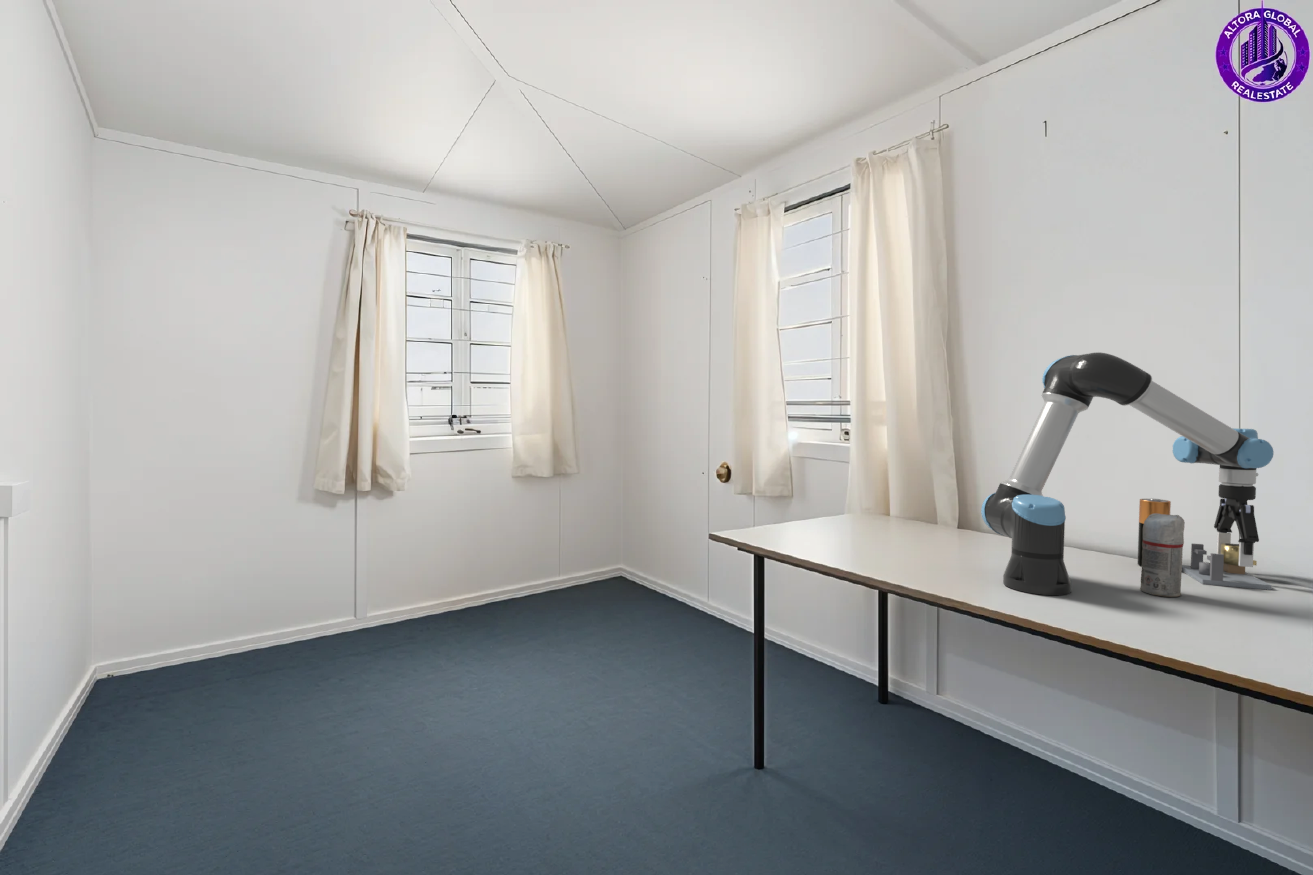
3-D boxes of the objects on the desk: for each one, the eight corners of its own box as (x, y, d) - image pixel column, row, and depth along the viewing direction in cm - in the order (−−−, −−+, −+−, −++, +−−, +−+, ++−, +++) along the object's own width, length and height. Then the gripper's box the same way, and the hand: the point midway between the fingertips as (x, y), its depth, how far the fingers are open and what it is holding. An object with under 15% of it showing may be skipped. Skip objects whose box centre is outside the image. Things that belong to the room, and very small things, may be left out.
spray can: (1190, 599, 153) (1193, 518, 152) (1151, 597, 155) (1154, 516, 154) (1169, 589, 162) (1172, 512, 161) (1133, 587, 163) (1135, 511, 162)
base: (1202, 584, 166) (1203, 553, 166) (1178, 568, 182) (1179, 540, 182) (1271, 590, 161) (1272, 558, 161) (1240, 573, 177) (1241, 544, 176)
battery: (1138, 567, 184) (1140, 499, 183) (1136, 562, 190) (1139, 496, 189) (1169, 570, 180) (1172, 501, 179) (1167, 565, 186) (1169, 498, 185)
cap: (1250, 562, 175) (1251, 543, 174) (1260, 567, 169) (1261, 547, 169) (1208, 559, 178) (1209, 540, 178) (1217, 564, 173) (1217, 544, 173)
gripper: (1278, 490, 160) (1274, 572, 161) (1234, 480, 183) (1231, 552, 184) (1240, 489, 163) (1237, 570, 164) (1201, 479, 186) (1198, 550, 187)
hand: (1234, 560), depth 174 cm, fingers open, 13 cm apart
